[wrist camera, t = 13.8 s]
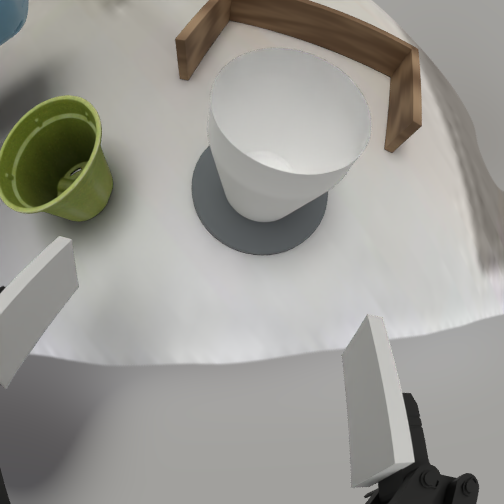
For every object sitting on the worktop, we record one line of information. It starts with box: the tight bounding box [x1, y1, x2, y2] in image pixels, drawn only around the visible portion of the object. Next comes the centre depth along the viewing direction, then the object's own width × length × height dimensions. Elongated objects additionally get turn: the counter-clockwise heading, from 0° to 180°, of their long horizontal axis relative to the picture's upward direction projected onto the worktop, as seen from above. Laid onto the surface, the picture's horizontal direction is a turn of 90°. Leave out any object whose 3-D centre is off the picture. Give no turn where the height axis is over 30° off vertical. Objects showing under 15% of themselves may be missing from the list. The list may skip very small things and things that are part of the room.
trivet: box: [192, 146, 328, 255], centre depth 26 cm, size 12×12×1 cm
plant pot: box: [0, 95, 113, 222], centre depth 20 cm, size 9×9×9 cm
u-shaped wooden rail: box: [175, 0, 422, 153], centre depth 27 cm, size 14×24×6 cm, turn 72°
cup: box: [207, 48, 372, 222], centre depth 20 cm, size 9×9×12 cm
